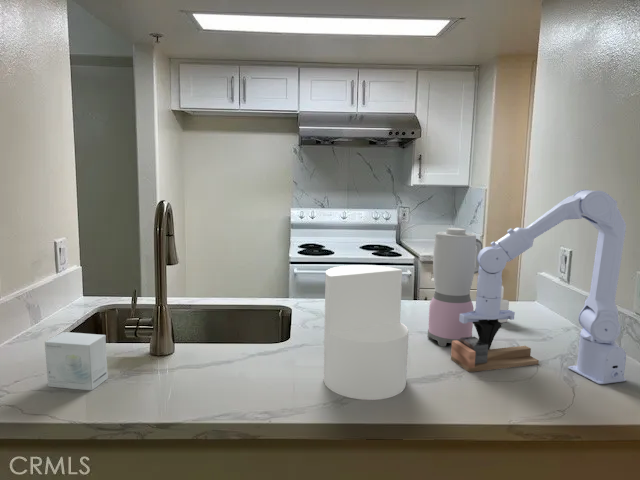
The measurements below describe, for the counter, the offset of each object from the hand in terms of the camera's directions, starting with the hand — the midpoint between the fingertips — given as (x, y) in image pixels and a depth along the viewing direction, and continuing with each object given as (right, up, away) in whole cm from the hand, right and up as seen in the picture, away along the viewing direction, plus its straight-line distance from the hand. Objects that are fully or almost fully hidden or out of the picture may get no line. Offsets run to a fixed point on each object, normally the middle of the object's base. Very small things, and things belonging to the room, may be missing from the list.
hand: (484, 348), depth 117 cm
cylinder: (-31, -5, -10) cm, 33 cm away
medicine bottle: (+15, +1, +36) cm, 39 cm away
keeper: (-3, -3, -1) cm, 4 cm away
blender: (-3, -2, +17) cm, 18 cm away
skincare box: (-95, -5, -14) cm, 96 cm away
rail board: (+3, -4, +1) cm, 5 cm away
